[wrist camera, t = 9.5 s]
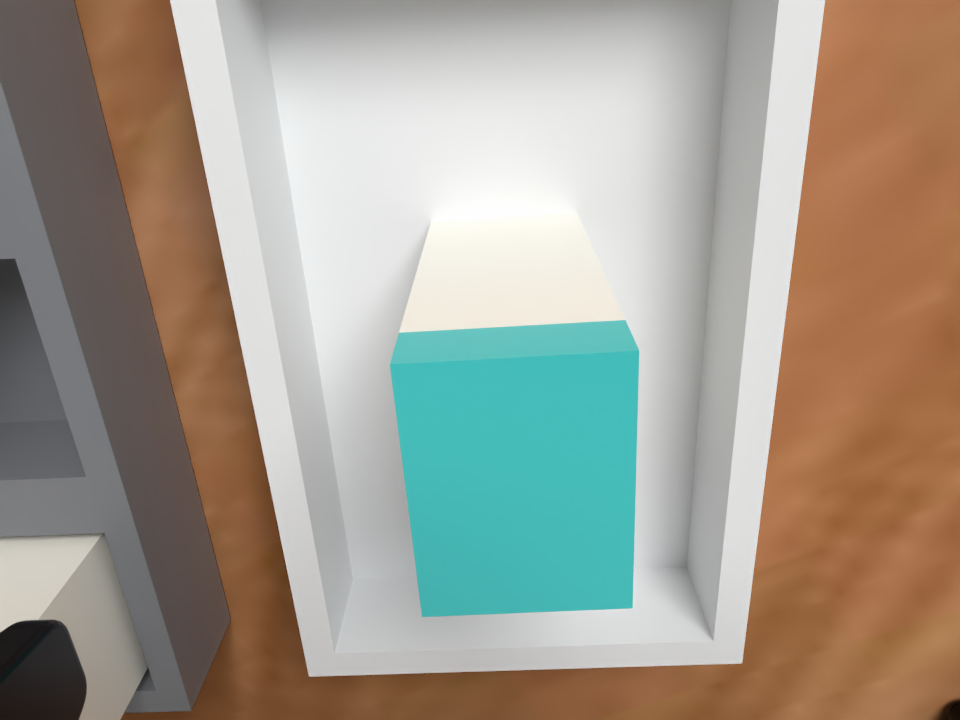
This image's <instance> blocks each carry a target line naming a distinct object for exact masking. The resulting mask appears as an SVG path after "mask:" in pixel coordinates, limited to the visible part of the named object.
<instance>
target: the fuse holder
mask: <svg viewBox="0 0 960 720" xmlns="http://www.w3.org/2000/svg"><path fill="white" fill-rule="evenodd" d="M91 533H105V536H106V539H107V542H108V546H109V549H110V552H111V555H112V558H113V561H114V564H115V567H116V570H117V573H118V576H119V579H120V582H121V585H122V589H123V592H124V595H125V598H126V601H127V604H128V607H129V610H130V613H131V616H132V619H133V622H134V625H135V628H136V631H137V635H138V638H139V641H140V644H141V647H142V650H143V653H144V656H145V659H146V662H147V665H148V668H147V670H146V672H145V674H144V676H143V678H142V679H141V681H140V683H139V685H138V687H137V689H136V691H135V693H134V695H133V697H132V698H131V700H130V702H129V704H128V706H127V708H126V710H125V712H124V713H138V712H172V711H192V708H193V706H194V704H195V701H196V699H197V697H198V694H199V692H200V690H201V687H202V685H203V683H204V680H205V678H206V676H207V673H208V671H209V669H210V666H211V664H212V662H213V659H214V657H215V655H216V653H217V650H218V648H219V646H220V643H221V641H222V639H223V636H224V634H225V632H226V629H227V627H228V625H229V622H230V620H231V618H230V614H229V610H228V606H227V602H226V598H225V594H224V590H223V586H222V582H221V579H220V575H219V571H218V567H217V563H216V559H215V555H214V551H213V547H212V543H211V539H210V535H209V531H208V527H207V523H206V519H205V515H204V512H203V508H202V504H201V500H200V496H199V492H198V488H197V484H196V480H195V476H194V472H193V468H192V464H191V460H190V456H189V452H188V449H187V445H186V441H185V437H184V433H183V429H182V425H181V421H180V417H179V413H178V409H177V405H176V401H175V397H174V393H173V389H172V385H171V382H170V378H169V374H168V370H167V366H166V362H165V358H164V354H163V350H162V346H161V342H160V338H159V334H158V330H157V326H156V322H155V318H154V315H153V311H152V307H151V303H150V299H149V295H148V291H147V287H146V283H145V279H144V275H143V271H142V267H141V263H140V259H139V255H138V251H137V248H136V244H135V240H134V236H133V232H132V228H131V224H130V220H129V216H128V212H127V208H126V204H125V200H124V196H123V192H122V188H121V184H120V181H119V177H118V173H117V169H116V165H115V161H114V157H113V153H112V149H111V145H110V141H109V137H108V133H107V129H106V125H105V121H104V117H103V114H102V110H101V106H100V102H99V98H98V94H97V90H96V86H95V82H94V78H93V74H92V70H91V66H90V62H89V58H88V54H87V51H86V47H85V43H84V39H83V35H82V31H81V27H80V23H79V19H78V15H77V11H76V7H75V3H74V0H0V537H11V536H37V535H64V534H91Z"/></svg>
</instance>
